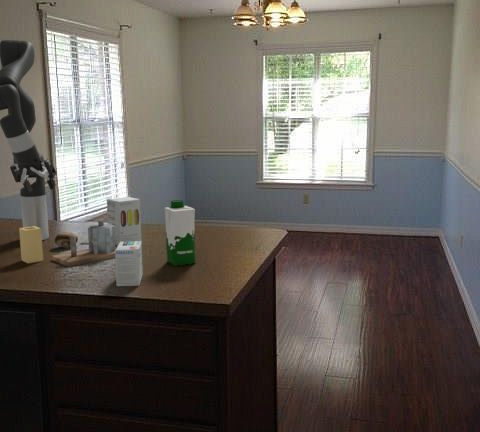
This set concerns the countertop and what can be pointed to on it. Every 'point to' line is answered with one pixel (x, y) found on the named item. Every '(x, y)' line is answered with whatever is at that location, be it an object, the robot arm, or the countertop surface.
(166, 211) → the milk carton
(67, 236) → the mushroom
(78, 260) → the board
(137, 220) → the supplement box
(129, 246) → the light bulb box
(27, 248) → the yellow rectangular block
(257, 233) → the countertop surface
